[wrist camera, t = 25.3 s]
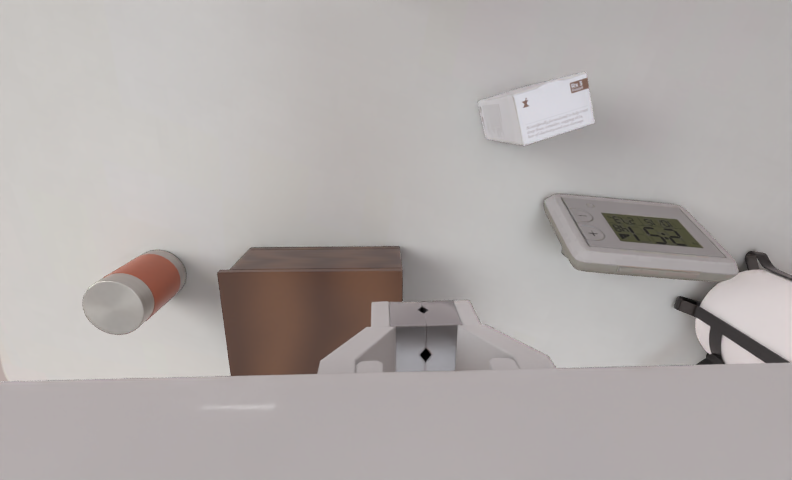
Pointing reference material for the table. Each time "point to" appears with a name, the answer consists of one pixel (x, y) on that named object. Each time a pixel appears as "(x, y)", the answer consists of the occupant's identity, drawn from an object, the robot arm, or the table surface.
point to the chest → (320, 258)
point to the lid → (297, 314)
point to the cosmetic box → (538, 110)
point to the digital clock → (636, 239)
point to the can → (134, 292)
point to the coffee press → (745, 316)
